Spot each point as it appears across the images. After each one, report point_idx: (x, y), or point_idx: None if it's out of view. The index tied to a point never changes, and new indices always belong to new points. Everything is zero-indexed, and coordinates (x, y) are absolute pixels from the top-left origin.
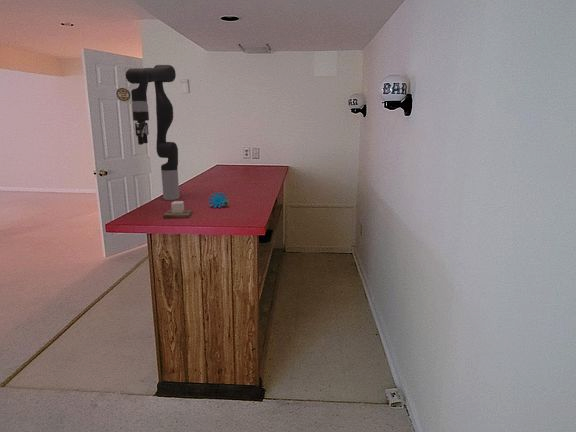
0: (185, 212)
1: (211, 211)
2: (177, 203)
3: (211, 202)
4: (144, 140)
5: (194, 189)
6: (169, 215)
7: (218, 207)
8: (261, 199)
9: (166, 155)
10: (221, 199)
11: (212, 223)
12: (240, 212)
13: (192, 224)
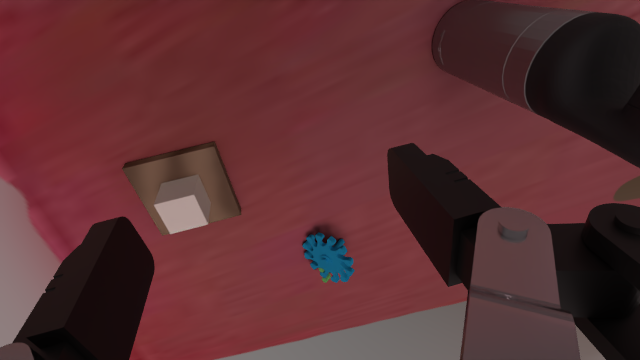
0: None
1: (263, 248)
2: (164, 222)
3: (317, 241)
4: (406, 191)
5: None
6: (133, 186)
7: (305, 252)
8: (419, 294)
9: (629, 107)
10: (327, 268)
11: None
12: (267, 306)
13: None
